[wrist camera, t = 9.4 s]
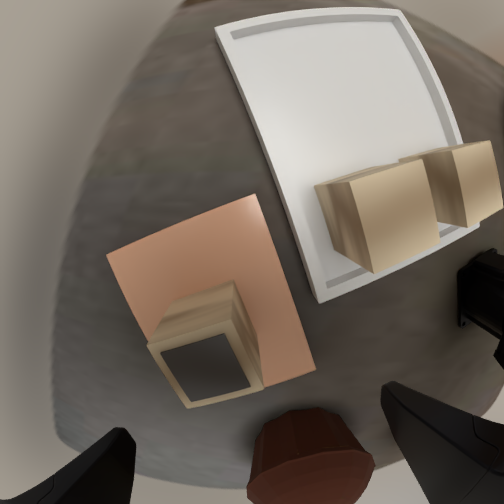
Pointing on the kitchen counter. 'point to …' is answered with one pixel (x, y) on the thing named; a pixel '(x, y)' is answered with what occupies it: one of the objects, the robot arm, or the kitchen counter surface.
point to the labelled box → (208, 347)
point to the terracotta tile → (218, 279)
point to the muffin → (308, 461)
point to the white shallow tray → (336, 115)
